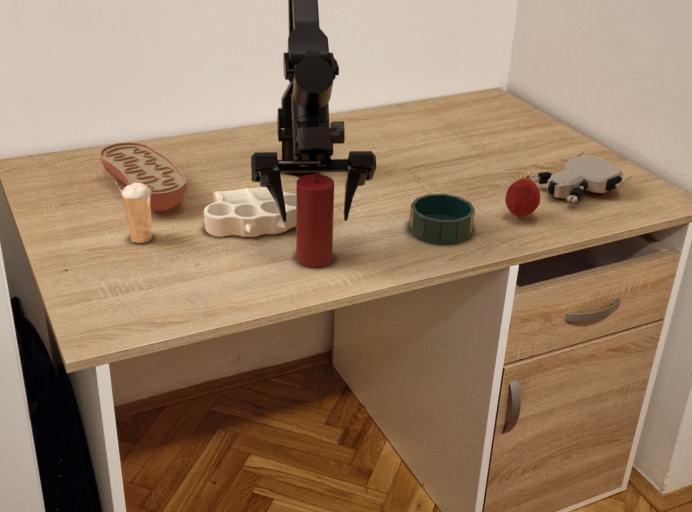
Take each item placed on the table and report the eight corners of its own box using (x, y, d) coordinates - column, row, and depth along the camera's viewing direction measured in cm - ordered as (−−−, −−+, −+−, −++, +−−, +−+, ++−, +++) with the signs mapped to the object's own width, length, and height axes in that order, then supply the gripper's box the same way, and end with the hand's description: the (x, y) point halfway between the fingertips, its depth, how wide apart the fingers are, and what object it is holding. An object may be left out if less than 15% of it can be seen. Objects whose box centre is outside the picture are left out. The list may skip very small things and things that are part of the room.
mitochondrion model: (95, 174, 169) (91, 148, 166) (146, 163, 173) (144, 137, 170) (146, 225, 153) (143, 197, 150) (201, 211, 158) (199, 184, 155)
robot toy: (571, 218, 162) (632, 193, 168) (575, 194, 159) (636, 170, 165) (523, 191, 170) (583, 169, 176) (525, 168, 167) (586, 146, 174)
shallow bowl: (401, 236, 152) (403, 213, 150) (421, 211, 160) (423, 189, 158) (461, 249, 149) (464, 226, 147) (478, 223, 157) (481, 200, 155)
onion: (536, 227, 156) (543, 183, 152) (501, 223, 157) (508, 179, 153) (537, 212, 161) (544, 169, 157) (503, 208, 162) (509, 165, 157)
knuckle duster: (296, 195, 164) (321, 232, 153) (194, 206, 159) (212, 247, 148) (296, 177, 162) (321, 214, 151) (193, 188, 157) (211, 228, 146)
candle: (290, 254, 147) (290, 173, 139) (322, 247, 149) (324, 167, 141) (305, 270, 142) (306, 188, 135) (338, 263, 145) (340, 181, 137)
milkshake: (123, 232, 151) (116, 174, 145) (156, 231, 151) (151, 174, 146) (120, 245, 147) (113, 187, 141) (154, 245, 148) (148, 187, 142)
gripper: (249, 100, 134) (252, 204, 131) (378, 99, 136) (384, 202, 133) (249, 131, 145) (253, 228, 142) (369, 130, 147) (374, 225, 144)
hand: (315, 220), depth 140 cm, fingers open, 9 cm apart
